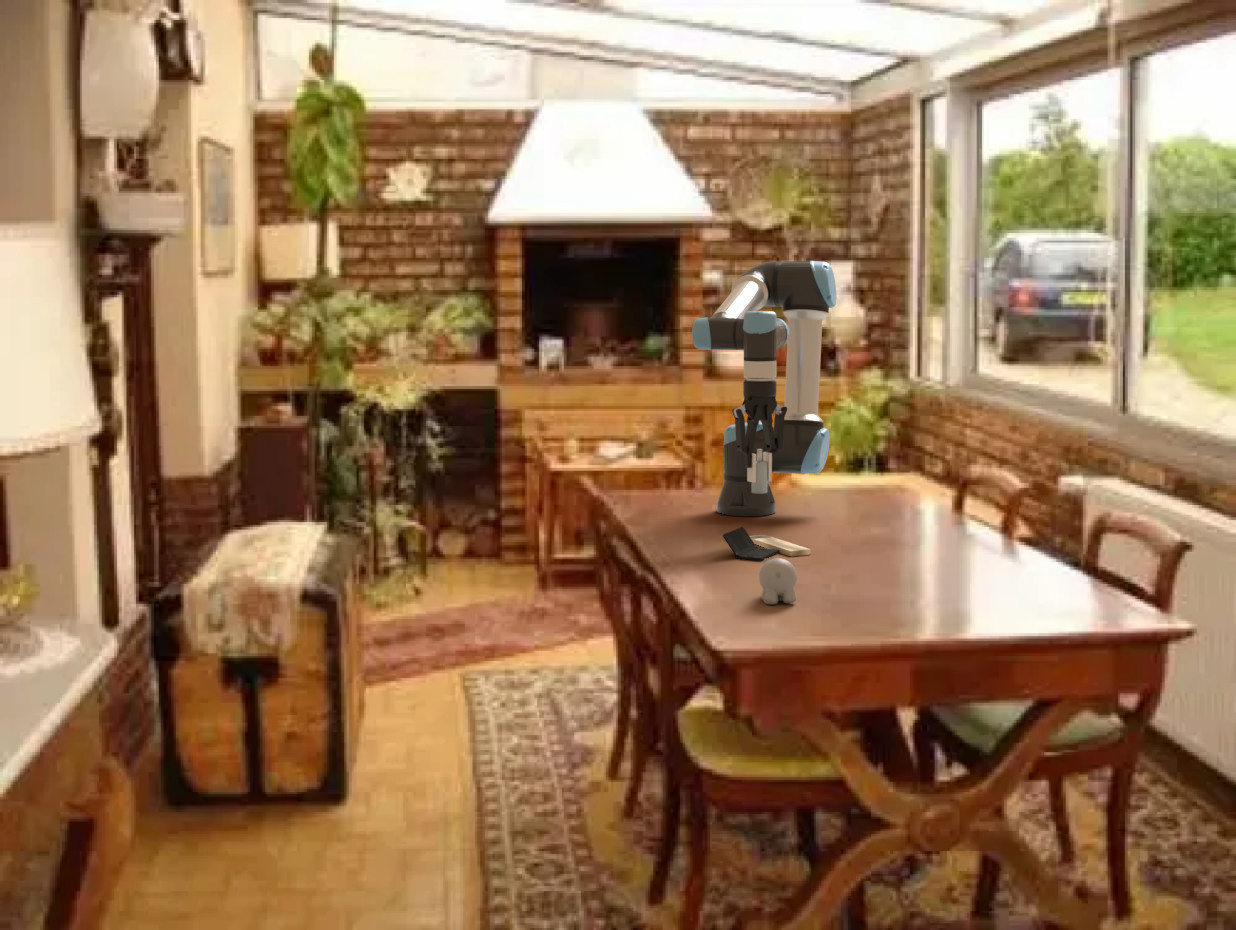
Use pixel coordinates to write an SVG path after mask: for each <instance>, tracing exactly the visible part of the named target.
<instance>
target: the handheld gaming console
mask: <svg viewBox="0 0 1236 930" xmlns="http://www.w3.org/2000/svg"><path fill="white" fill-rule="evenodd" d="M749 536H750V535H749V533H748V532H747V530H746V529H745V527H743V526H741V527H738V528H736V529H733V530H731V531H729V532H726V533H724V534H722V538H723V539H724V541H725V542H726V543H727V546H729V548H730V549H731V551H732V552H733V554H734V556H735V560H736V559H740V560H739V561H748V562H750V561H752V562H759V563H761V562H764V559H766V560H767V558H768V559H770V558H772V557H774V556H776V555H778V554H780V553H779V550H777V549H766V548H763V547H759V546H757V545H755V544H754V542H753V541H752V540H751V538H750V537H749ZM777 553H778V554H777ZM769 557H770V558H769Z"/></svg>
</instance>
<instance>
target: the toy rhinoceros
mask: <svg viewBox="0 0 1236 930" xmlns="http://www.w3.org/2000/svg"><path fill="white" fill-rule="evenodd" d="M796 570H797V569H796V568H795V567H794V565H793V564H792V562H790V561H788V560H787V559H784V558H781V557H775V558H771V559H769V560H767V559H764V560H763V565H762V566H761V567H760V570H759V573H758V580H759V584H760V586H761V588H762V592H761V595H760V596H761V601H763V603H764V604H766V605H772V606H773V605H777V604H778V602H779V601H782V602H783V603H784V604H793V603H795V602H796V601H797V593H796V591H795V589H794V588H795V586H796V584H797V581H798V580H797V579H798V573H797V571H796Z"/></svg>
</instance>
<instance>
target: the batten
mask: <svg viewBox="0 0 1236 930" xmlns="http://www.w3.org/2000/svg"><path fill="white" fill-rule="evenodd" d="M749 537H750V538H751V540H752V541H753V542H754V544H757V545H759V546H758V547H760V546H761V547H760V548H763V547H764V548H767V549H777V550H779V553H778V554H782V555H785V556H788V557H790V558H791V557H799V556H810V555H811V549H810V548H808V547H805V546H801V545H798V544H795V543H793V542H792V543H791V542H789V541H786V540H783V539H781V538H780V539H779V538H776V537H773V536H771V535H767V534H759V535H749ZM757 545H756V546H757Z"/></svg>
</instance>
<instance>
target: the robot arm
mask: <svg viewBox="0 0 1236 930" xmlns="http://www.w3.org/2000/svg"><path fill="white" fill-rule="evenodd" d="M835 278H836V277H835V273H834V271H833V268H832V267H831V264H829V263H828V262H826V261H819V260H794V261H789V260H788V261H787V260H785V261H783V260H782V261H777V260H774V261H766V262H763V263H761V264H758V265H755V266H754V267H752V268H750V269H748V270H746V271H744V272H743V273H742V274H740V276H739V277H738V278H737V279H736V280H735V281H734V282H733V284H732V286H731V291H730V293H729V295H728V296H727V297H726V298H725V299H724V301H723V302H722V304H721V305H720V306H718V308H717V309H716V310H715V312H714V313H713V315H712V316H711V317H708V316H706V317H698V318H696V319H695V320H694V322H693V325H692V329H691V330H692V331H691V339H692V343H693V346H694V347H695V349H697V350H708V351H743V378H744V381H743V385H742V386H743V387H742V388H743V391H742V393H743V401H742V403H741V406H739V407H737V408H733V409H732V410H731V411H732V412H731V413H732V415H733V418H734V424H731V425H728V426H727V427H726V428H725V429H724V431H723V443H722V445H723V484H722V486H721V491H720V494H719V497H718V500H717V503H716V512H717V513H718V514H720V513H722V514H721V515H724V514H725V516H732V517H733V516H735V517H761V516H769V515H773V514H775V513H776V512H777V511H776V510H777V504H776V500H775V498H774V495H773V491H772V487H771V484H770V482H772V481H773V478H772V477H773V474H793V475H794V474H797V475H798V474H800V475H810V474H811V475H813V474H815V475H816V474H819V473H821V471H822V470H823V469H824V468H825V465H826V461H827V460H828V455H829V451H830V443H831V439H830V438H831V437H830V436H831V434H830V430H829V429H828V428H826V427H824V425H825V424H824V420H823V419H822V418H821V417H820V416H819V398H820V396H819V395H820V379H821V378H820V377H821V359H822V358H821V356H822V354H821V353H822V339H823V338H822V335H823V334H822V333H823V332H822V331H823V321H824V320H825V319H826V318H827V317H829V314H830V312H829V310H830V308H831V309H832V308H834V307H836V304H837V286H836V285H837V284H836V279H835ZM762 308H782V314H783V316H784V317H785V318H786V319H787V320H788V323H787V322H786V321H784V320H783V319H782V318H778V317H777V312H775V311H772V310H771V311H769V310H762ZM786 344H787V346H786V361H785V362H786V364H785V365H786V366H785V386H784V387H785V388H784V406H783V405H781V404H779V403H778V401H777V399H776V396H777V381H776V380H775V379H776V378H777V373H778V372H777V371H778V370H777V367H778V365H777V351H778V350H780V349H781V348H783V347H784V346H785V345H786ZM774 413H775V414H774ZM773 414H774V420H773ZM746 415H747V417H746V419H745V416H746ZM757 449H762V461H765V462H767V493H763V494H757V493H752V482H753V483H755V482H756V461H757Z"/></svg>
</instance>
